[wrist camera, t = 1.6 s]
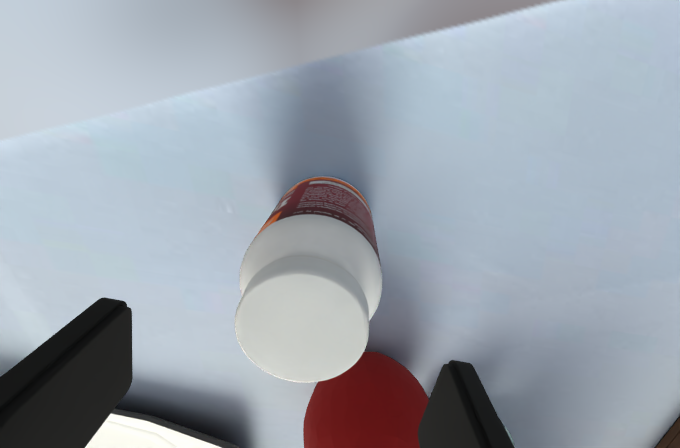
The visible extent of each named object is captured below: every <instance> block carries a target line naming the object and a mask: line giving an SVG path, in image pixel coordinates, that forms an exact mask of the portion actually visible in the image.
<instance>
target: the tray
mask: <svg viewBox="0 0 680 448" xmlns="http://www.w3.org/2000/svg"><path fill="white" fill-rule="evenodd" d="M655 448H680V417H679V418H678V420H677V421H676V422H675V423H674V425H673V426H672V427H671V428H670V430H669V431H668V432H667V434H666V435H665V436H664V437H663V439H662V440H661V441H660V442H659V444H658V445H657V446H656V447H655Z"/></svg>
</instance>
